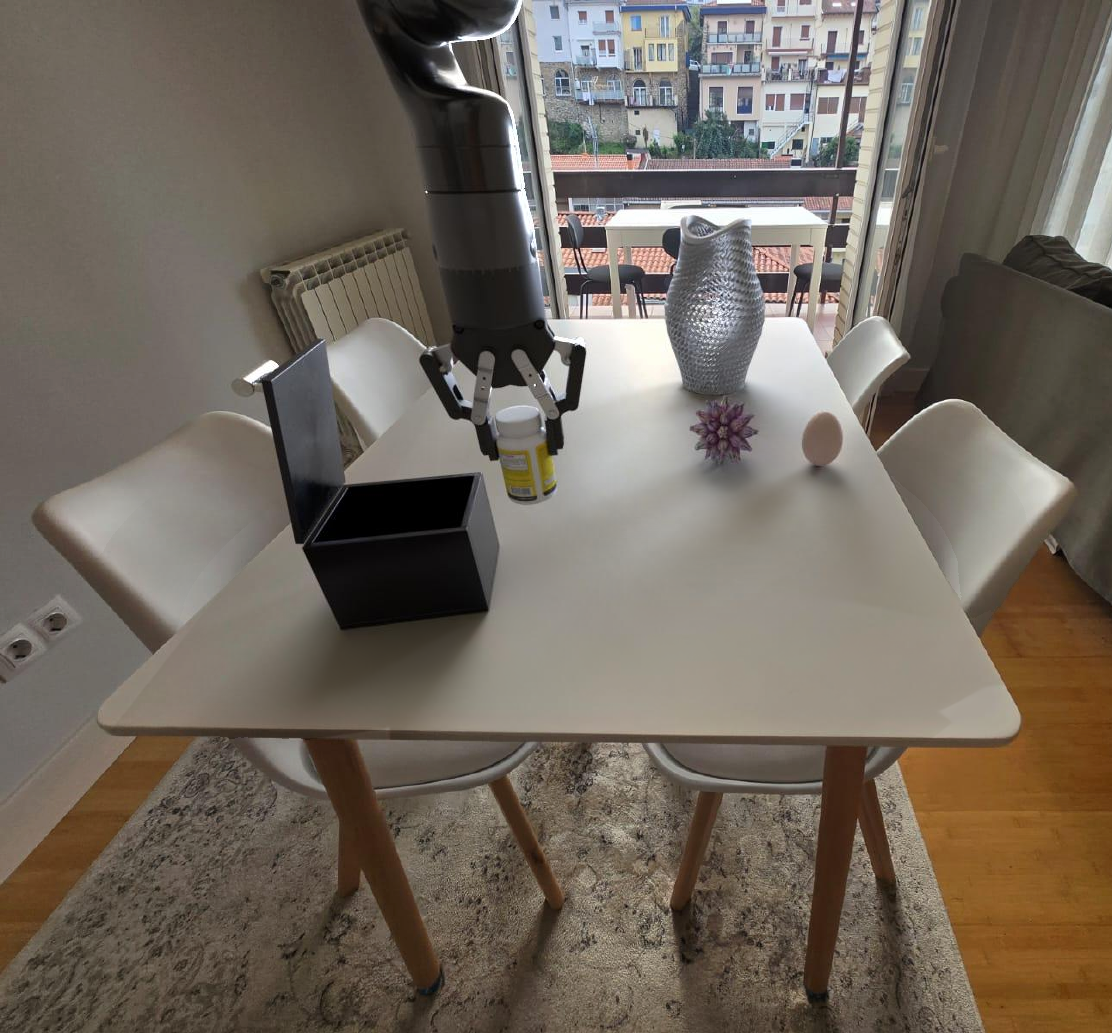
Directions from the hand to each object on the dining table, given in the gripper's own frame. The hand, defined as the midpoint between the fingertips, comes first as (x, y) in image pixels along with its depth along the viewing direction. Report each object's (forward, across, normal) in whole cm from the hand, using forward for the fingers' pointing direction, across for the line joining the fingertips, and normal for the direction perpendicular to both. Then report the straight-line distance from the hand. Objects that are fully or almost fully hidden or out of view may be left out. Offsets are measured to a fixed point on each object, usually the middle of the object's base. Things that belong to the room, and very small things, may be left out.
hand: (524, 453), depth 53 cm
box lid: (+1, +23, -11) cm, 25 cm away
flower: (+22, -28, -38) cm, 52 cm away
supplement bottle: (+5, 0, 0) cm, 5 cm away
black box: (+22, +16, -11) cm, 30 cm away
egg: (+22, -44, -33) cm, 59 cm away
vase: (+22, -35, -77) cm, 87 cm away
